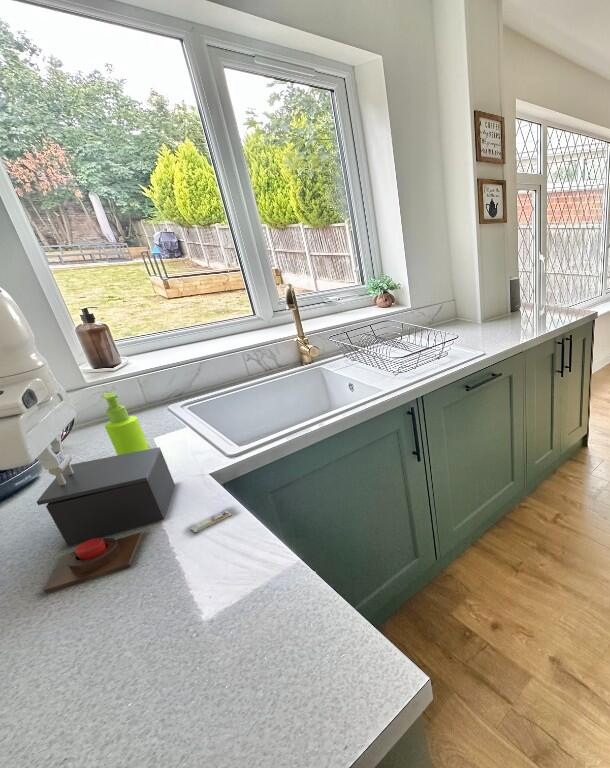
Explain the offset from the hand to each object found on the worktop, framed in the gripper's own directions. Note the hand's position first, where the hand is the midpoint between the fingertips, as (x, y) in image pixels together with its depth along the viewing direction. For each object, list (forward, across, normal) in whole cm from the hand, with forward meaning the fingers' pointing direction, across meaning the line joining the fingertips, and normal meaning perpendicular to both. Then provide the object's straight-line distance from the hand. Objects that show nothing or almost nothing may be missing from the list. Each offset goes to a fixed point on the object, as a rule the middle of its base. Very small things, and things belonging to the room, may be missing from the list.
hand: (56, 464), depth 69 cm
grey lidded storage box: (+20, -13, +1) cm, 24 cm away
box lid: (+10, -13, +1) cm, 16 cm away
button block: (+20, +2, 0) cm, 20 cm away
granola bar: (+20, 0, +17) cm, 26 cm away
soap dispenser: (+20, -35, -1) cm, 40 cm away
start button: (+17, +2, 0) cm, 17 cm away
